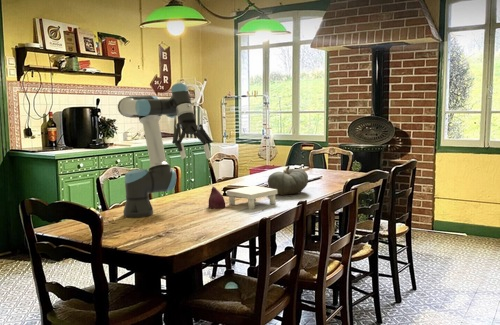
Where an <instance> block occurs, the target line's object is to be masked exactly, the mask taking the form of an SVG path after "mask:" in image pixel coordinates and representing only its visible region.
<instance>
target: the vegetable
mask: <svg viewBox="0 0 500 325" xmlns="http://www.w3.org/2000/svg"><path fill="white" fill-rule="evenodd" d="M225 208H226V201H225V199H224V196H223V194H222V193H221V192H220V191H219V190H218V189H217V188H216V187H215V186H212V187H211V191H210V195H209V197H208V209H210V210H220V209H225Z"/></svg>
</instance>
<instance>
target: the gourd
mask: <svg viewBox="0 0 500 325" xmlns="http://www.w3.org/2000/svg"><path fill="white" fill-rule="evenodd" d="M286 167H287V168H286V170H284V171H283V172H282V171H275V172H273V173H271V174H270V175H268V178H267V185H268V188H271V189H277V194H276V195H281V196H285V195H294V194H299V193H301V192H302V191H303V190H304V189H305V188H306V187H307V185H308V184H309V183H308V182H309V175H308V173H307V172H306V171H305V170H304V169H302V168H296V169H295V168H291V167H290V165H287V166H286Z"/></svg>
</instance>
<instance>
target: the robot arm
mask: <svg viewBox="0 0 500 325" xmlns="http://www.w3.org/2000/svg"><path fill="white" fill-rule="evenodd" d="M171 94H172V95H171V96H170V97H169V98H159V97H158V96H156V95H135V96H134V95H129V96H125V97H123V98H121V99H120V100H119V102H118V104H117V111H118V113H119V114H120V115H121V116H123V117H126V118H134V119H138V121H139V123H141V124H142V125H143V126H142V127H143V132H144V137H145V142H146V147H147V154H148V158H149V167H148V169H147V168H139V169H133V170H130V171H127V172H126V173H125V174H124V187H125V188H124V189H125V205H124V208H123V212H122V213H123V216H124V217H125V216H126V217H125V218H130V217H137V218H143V217H142V216H145V217H149V215H150V216H152V215H153V214H154V208H153V206H152V204H151V201H150V194H153V193H154V194H155V193H163V192H165V193H166V192H168V191H172V190H174V189H175V186H176V183H177V173H176V170H175V169H174V168H171V164H169V163H168V162H167V158H166V152H165V148H164V142H163V136H162V132H161V127H160V120H161V117H163V116H166V117H168V118H171V119H173V118H176V117H178V118H177V119H178V122H177V123H176V124H175V125H174V133H173V137H172V142H171V143H172V144H174V145H175V146H176V147H177V150H178V152H179V154H180V158H181V160H184V159H185V158H186V157H187V154H186V150H185V146H184V143H183V142H182V141H183V139H184V138H185V136H186V135H193V136H195V137H196V138H197V139H198V140H199V141H200V142H201V143H202V144H203V146H202V147H203V151H204V154H205V157H206V158H205V159H207V160H209V159H210V158H211V157H212V154H211V147H210V144H211V143H213V140H212V139H211V137H210V136H209V134H208V133H207V131H206V130H205V128H204V126H203V125H202V123H200V124H198V125H197V123H196V122H197V120H196V116H195V113H194V108H193V105H192V101H191V97H190V96H191V95H190V92H189V90H188V87H187V84H186V83H183V82H179V83H175V84H173V85H172V86H171ZM181 130H182V131H181ZM180 131H181V134H180Z"/></svg>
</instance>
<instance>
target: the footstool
mask: <svg viewBox="0 0 500 325" xmlns="http://www.w3.org/2000/svg"><path fill="white" fill-rule="evenodd" d="M276 195H278V194H277V189H271V188H269V187H264V186H257V185H250V186H245V187H239V188H233V189H228V190H226V196H228V201H229V202H228V204H229V206H234V205H236V198H242V199H247V200H248V201H247V202H248V205H247V206H248V210H254V209H255V201H257V199H259V198H265V197H269V205H276V204H277V203H276Z"/></svg>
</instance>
